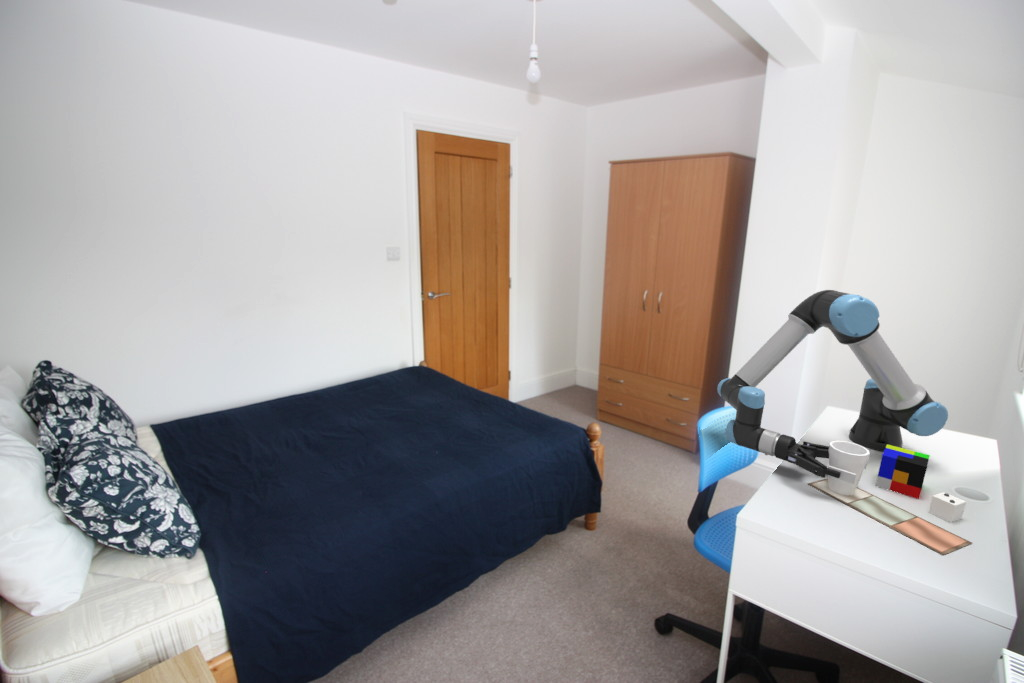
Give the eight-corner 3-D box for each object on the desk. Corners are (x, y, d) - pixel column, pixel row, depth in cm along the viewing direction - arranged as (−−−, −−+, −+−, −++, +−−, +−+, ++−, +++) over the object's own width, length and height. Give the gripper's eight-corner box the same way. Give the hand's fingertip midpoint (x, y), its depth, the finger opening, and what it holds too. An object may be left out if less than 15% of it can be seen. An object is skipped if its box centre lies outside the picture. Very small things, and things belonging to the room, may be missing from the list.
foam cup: (821, 478, 147) (829, 438, 144) (859, 486, 143) (867, 445, 140) (822, 492, 139) (830, 450, 136) (861, 502, 135) (871, 458, 132)
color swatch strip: (834, 476, 149) (834, 476, 149) (972, 543, 118) (972, 542, 118) (807, 484, 144) (807, 483, 144) (943, 555, 114) (943, 554, 114)
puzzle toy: (875, 486, 144) (882, 455, 142) (880, 474, 151) (887, 444, 149) (918, 499, 138) (926, 466, 135) (922, 486, 145) (929, 455, 142)
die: (939, 508, 133) (944, 490, 132) (961, 518, 129) (966, 499, 127) (928, 512, 131) (933, 493, 130) (950, 522, 127) (955, 503, 125)
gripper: (789, 445, 161) (869, 470, 146) (761, 468, 145) (846, 499, 130) (793, 424, 159) (874, 446, 144) (764, 445, 143) (851, 473, 128)
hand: (861, 471), depth 137 cm, fingers open, 12 cm apart
